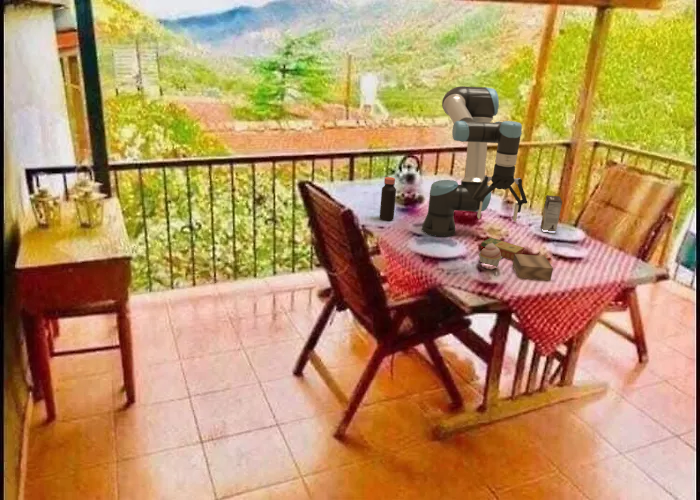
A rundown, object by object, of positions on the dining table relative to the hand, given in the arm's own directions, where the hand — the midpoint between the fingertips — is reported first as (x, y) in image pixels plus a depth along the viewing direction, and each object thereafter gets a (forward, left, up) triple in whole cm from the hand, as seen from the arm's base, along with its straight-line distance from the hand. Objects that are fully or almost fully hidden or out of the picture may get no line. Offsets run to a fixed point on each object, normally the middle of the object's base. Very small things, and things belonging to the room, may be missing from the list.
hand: (496, 219), depth 216 cm
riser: (+16, -3, -20) cm, 26 cm away
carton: (+8, +16, -21) cm, 27 cm away
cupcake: (0, 0, -20) cm, 20 cm away
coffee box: (+36, +50, -20) cm, 65 cm away
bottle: (-41, +49, -20) cm, 67 cm away
